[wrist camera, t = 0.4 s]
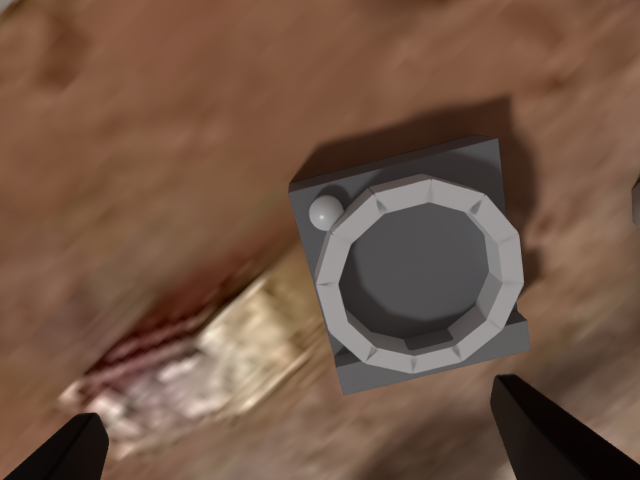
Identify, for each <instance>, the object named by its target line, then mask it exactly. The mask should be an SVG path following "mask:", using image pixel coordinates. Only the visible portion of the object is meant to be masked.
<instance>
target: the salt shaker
mask: <svg viewBox="0 0 640 480" xmlns="http://www.w3.org/2000/svg"><path fill="white" fill-rule="evenodd" d="M632 215H633V222H634V223H635V224H636V225H637V227H638V228H639V229H640V182H639V183H638V184H637V185H636V186H635V187H634V188H633V189H632Z"/></svg>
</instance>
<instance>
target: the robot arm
mask: <svg viewBox="0 0 640 480" xmlns="http://www.w3.org/2000/svg"><path fill="white" fill-rule="evenodd" d="M490 404H491V409H492V413H493V415H494V418H495V421H496V424H497V427H498V429H499V432H500V435H501V438H502V441H503V443H504V446H505V449H506V452H507V455H508V457H509V460H510V463H511V466H512V469H513V471H514V474H515V476H516V479H517V480H640V465H639V464H638V463H637V462H635V461H634V460H633V459H631V458H630V457H628V456H627V455H626V454H624V453H623V452H622V451H620V450H619V449H617V448H616V447H615V446H613V445H612V444H611V443H609V442H608V441H606V440H605V439H604V438H602V437H601V436H600V435H598V434H597V433H595V432H594V431H593V430H591V429H590V428H589V427H587V426H586V425H584V424H583V423H582V422H580V421H579V420H578V419H576V418H575V417H573V416H572V415H571V414H569V413H568V412H567V411H565V410H564V409H562V408H561V407H560V406H558V405H557V404H556V403H554V402H553V401H551V400H550V399H549V398H547V397H546V396H545V395H543V394H542V393H540V392H539V391H538V390H536V389H535V388H534V387H532V386H531V385H529V384H528V383H527V382H525V381H524V380H523V379H521V378H520V377H518V376H517V375H515V374H501V375H496V377H495V378H494V382H493V388H492V393H491V399H490ZM108 447H109V437H108V434H107V432H106V430H105V427H104V425H103V423H102V421H101V419H100V416H99V415H98V414H97V413H94V412H93V413H83V414H78V415H76V416H74V417H73V418H72V419H71V420H70V421H68V422H67V423H66V424H65V425H64V426H63V427H62V428H61V429H59V430H58V431H57V432H56V433H55V434H54V435H53V436H51V437H50V438H49V439H48V440H47V441H46V442H45V443H44V444H42V445H41V446H40V447H39V448H38V449H37V450H36V451H35V452H33V453H32V454H31V455H30V456H29V457H28V458H27V459H26V460H24V461H23V462H22V463H21V464H20V465H19V466H18V467H17V468H15V469H14V470H13V471H12V472H11V473H10V474H9V475H8V476H6V477H5V478H4V479H3V480H100V479H101V475H102V471H103V467H104V463H105V459H106V455H107V451H108Z"/></svg>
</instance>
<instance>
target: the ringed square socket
mask: <svg viewBox="0 0 640 480" xmlns="http://www.w3.org/2000/svg"><path fill="white" fill-rule="evenodd" d="M288 194H289V198H290V201H291V205H292V209H293V212H294V216H295V219H296V223H297V226H298V230H299V233H300V237H301V240H302V244H303V248H304V251H305V255H306V258H307V262H308V265H309V269H310V272H311V276H312V279H313V283H314V286H315V290H316V294H317V297H318V301H319V304H320V308H321V311H322V315H323V318H324V322H325V325H326V329H327V332H328V336H329V340H330V343H331V347H332V350H333V354H334V358H335V365H336V370H337V374H338V377H339V381H340V384H341V388H342V391H343V395H344V396H345V395H349V394H353V393H357V392H361V391H365V390H369V389H373V388H377V387H381V386H386V385H390V384H394V383H398V382H402V381H406V380H410V379H414V378H418V377H423V376H427V375H431V374H435V373H439V372H443V371H447V370H451V369H455V368H460V367H464V366H468V365H472V364H476V363H480V362H484V361H488V360H492V359H497V358H501V357H505V356H509V355H513V354H517V353H521V352H525V351H529V350H530V341H529V332H528V322H527V320H526V319H525V318H524V317H523V316H522V315H521V314H520V313H519V312H518V311H517V303H516V300H517V298H518V295H519V293H520V291H521V289H522V287H523V285H524V284H523V283H524V277H523V267H522V258H521V248H520V239H519V234H518V232H517V231H516V229H515V228H514V227H513V226H512V225H511V224H510V222H509V221H508V220H507V214H506V205H505V196H504V187H503V179H502V170H501V161H500V152H499V143H498V138H493V137H487V136H481V135H473V136H469V137H465V138H461V139H457V140H454V141H450V142H446V143H442V144H438V145H434V146H431V147H427V148H423V149H419V150H415V151H411V152H408V153H404V154H400V155H396V156H392V157H388V158H385V159H381V160H377V161H373V162H369V163H365V164H362V165H358V166H354V167H350V168H346V169H343V170H339V171H335V172H331V173H327V174H323V175H320V176H316V177H312V178H308V179H304V180H300V181H297V182H293V183H289V190H288Z"/></svg>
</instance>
